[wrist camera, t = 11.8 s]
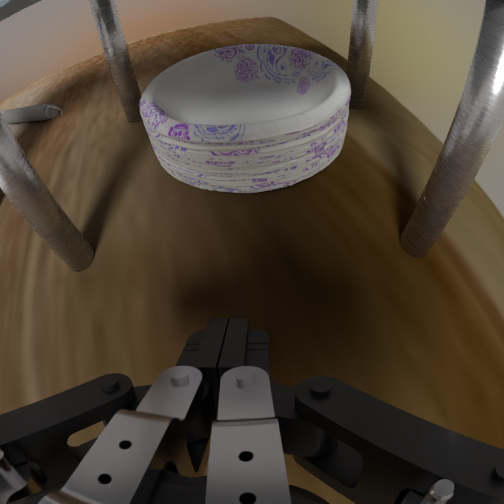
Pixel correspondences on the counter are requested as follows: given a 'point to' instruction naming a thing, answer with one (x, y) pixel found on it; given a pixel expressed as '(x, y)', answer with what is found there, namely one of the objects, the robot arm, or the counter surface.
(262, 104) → the paper bowls
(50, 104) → the kitchen whisk
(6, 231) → the counter surface
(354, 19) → the small side table
